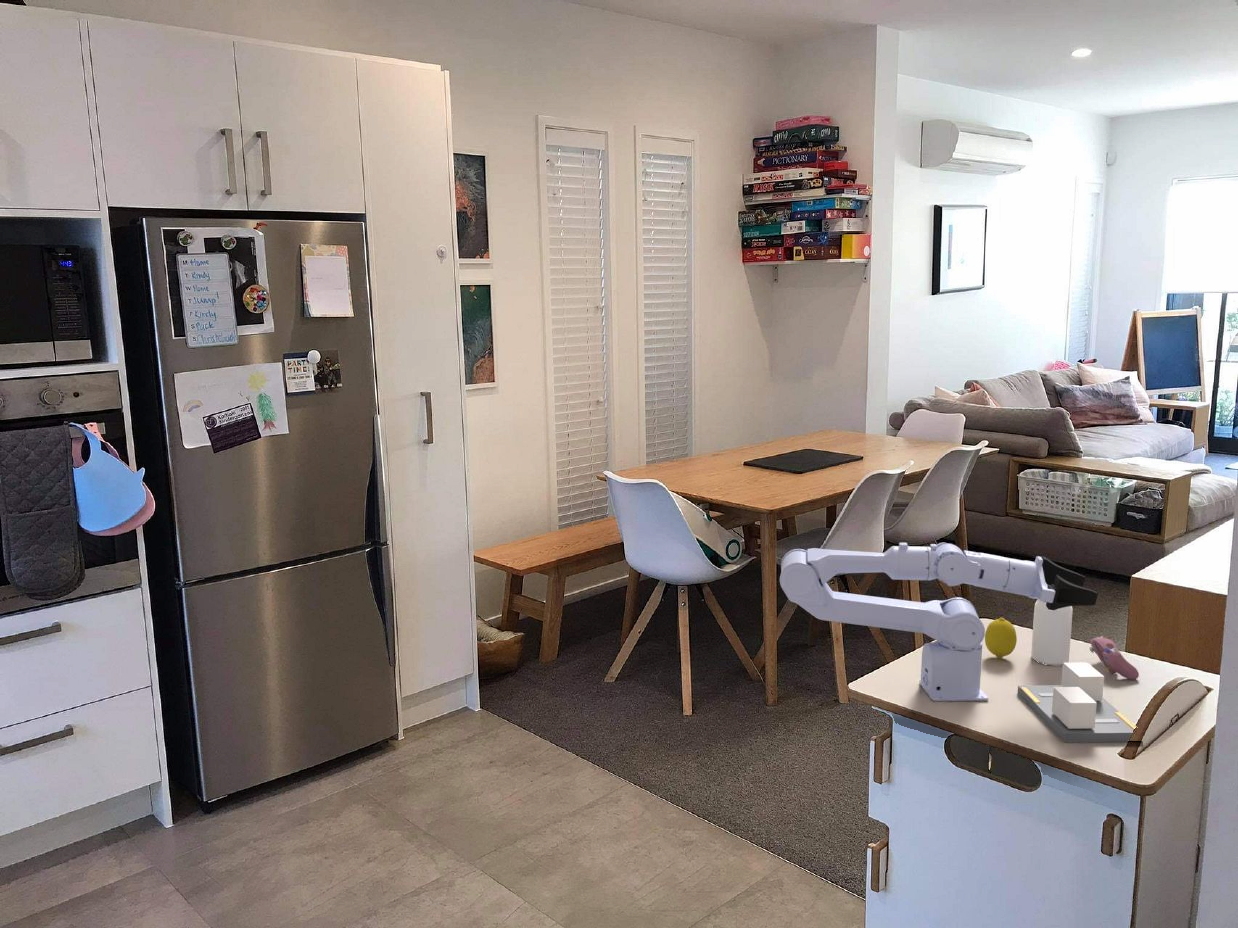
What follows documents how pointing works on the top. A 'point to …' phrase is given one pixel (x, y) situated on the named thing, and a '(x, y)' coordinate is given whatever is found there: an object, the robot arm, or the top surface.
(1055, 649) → the can
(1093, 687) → the switch back
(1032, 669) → the top surface
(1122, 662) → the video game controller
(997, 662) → the top surface
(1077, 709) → the switch front
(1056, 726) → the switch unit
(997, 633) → the lemon
